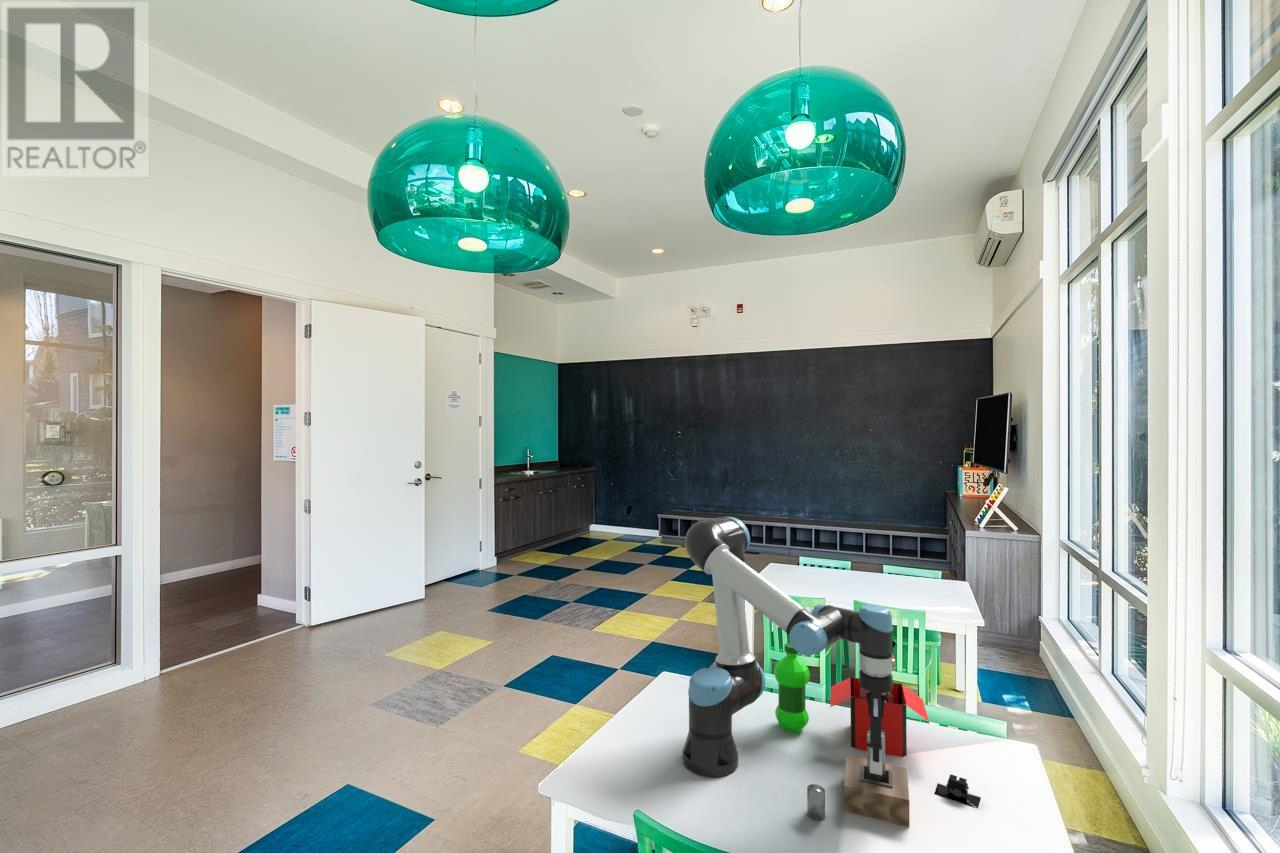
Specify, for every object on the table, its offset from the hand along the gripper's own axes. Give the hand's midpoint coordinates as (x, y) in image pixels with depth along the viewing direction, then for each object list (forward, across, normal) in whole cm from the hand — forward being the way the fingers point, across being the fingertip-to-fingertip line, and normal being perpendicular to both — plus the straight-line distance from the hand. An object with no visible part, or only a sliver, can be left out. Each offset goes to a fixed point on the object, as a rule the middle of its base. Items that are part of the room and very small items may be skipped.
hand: (876, 767), depth 140 cm
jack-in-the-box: (+8, +31, 0) cm, 32 cm away
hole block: (+8, 0, 0) cm, 8 cm away
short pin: (+8, -11, +13) cm, 19 cm away
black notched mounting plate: (+9, +10, -18) cm, 23 cm away
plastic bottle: (+8, +28, +24) cm, 38 cm away
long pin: (+6, 0, 0) cm, 6 cm away
